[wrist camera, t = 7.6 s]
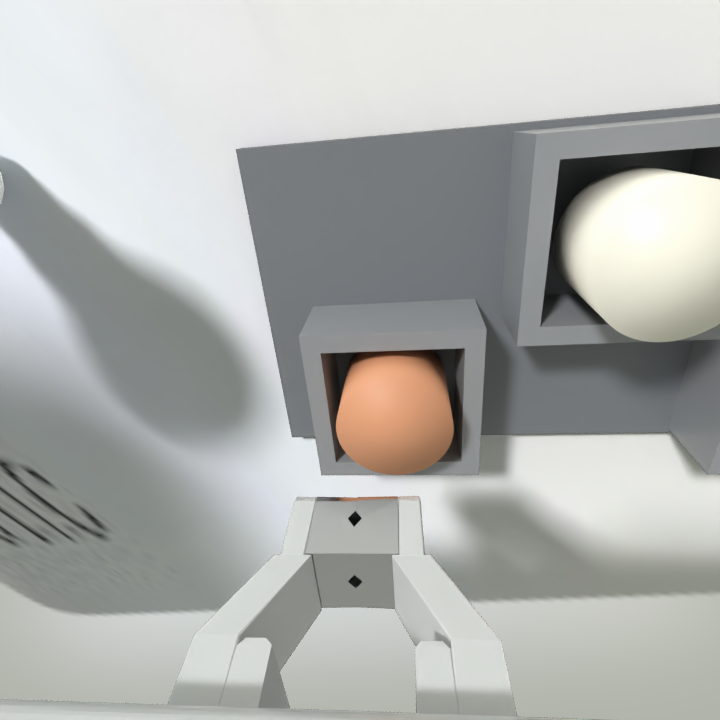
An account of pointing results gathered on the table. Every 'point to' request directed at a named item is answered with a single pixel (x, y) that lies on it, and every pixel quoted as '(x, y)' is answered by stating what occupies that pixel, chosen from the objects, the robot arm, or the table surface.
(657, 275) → the cream button
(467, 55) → the table surface
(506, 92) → the table surface
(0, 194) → the lightbulb
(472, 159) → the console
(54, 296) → the table surface
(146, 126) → the table surface
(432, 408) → the rust button
